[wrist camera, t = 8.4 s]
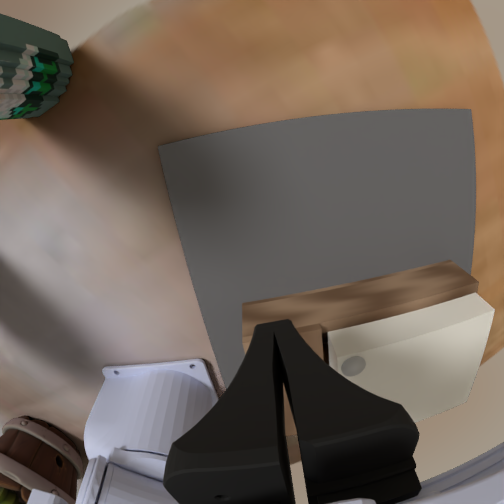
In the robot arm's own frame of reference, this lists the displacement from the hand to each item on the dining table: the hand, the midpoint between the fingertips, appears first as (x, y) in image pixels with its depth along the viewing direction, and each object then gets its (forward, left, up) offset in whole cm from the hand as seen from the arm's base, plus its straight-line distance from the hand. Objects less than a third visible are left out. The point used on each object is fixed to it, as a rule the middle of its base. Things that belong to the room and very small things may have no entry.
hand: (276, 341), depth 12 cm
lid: (+8, -9, -5) cm, 13 cm away
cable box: (+6, -8, -10) cm, 14 cm away
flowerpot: (-32, -21, -10) cm, 40 cm away
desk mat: (+6, -3, -10) cm, 12 cm away
